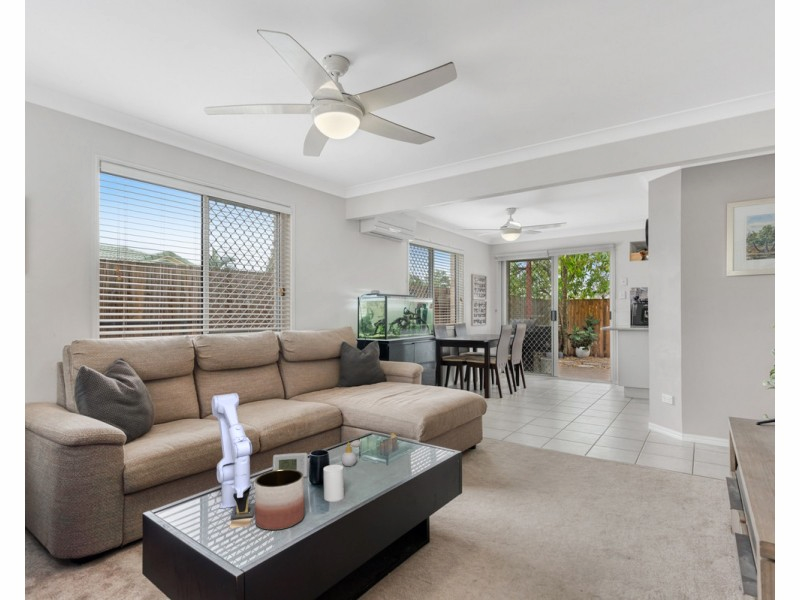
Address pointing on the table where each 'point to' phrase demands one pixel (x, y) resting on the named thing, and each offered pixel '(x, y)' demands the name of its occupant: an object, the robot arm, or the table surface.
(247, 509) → the brushed brass bar
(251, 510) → the grey square frame
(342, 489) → the cup
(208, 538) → the table surface
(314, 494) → the table surface
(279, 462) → the digital clock
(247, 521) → the coaster
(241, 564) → the table surface
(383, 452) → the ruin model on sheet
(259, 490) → the planter
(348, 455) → the perfume bottle
